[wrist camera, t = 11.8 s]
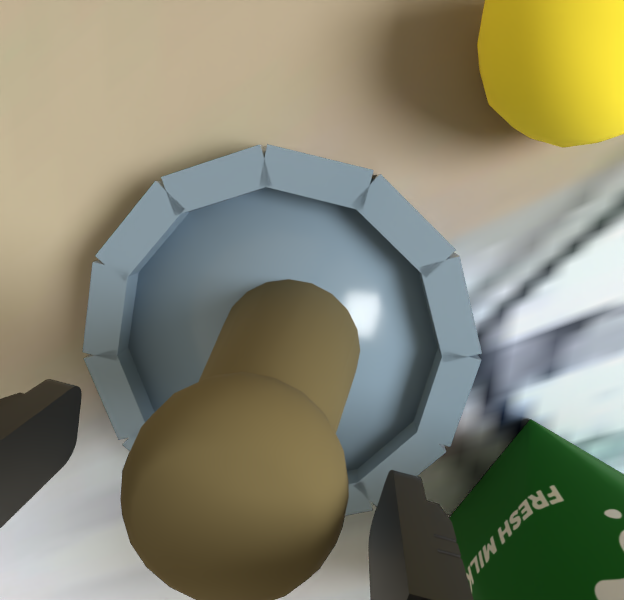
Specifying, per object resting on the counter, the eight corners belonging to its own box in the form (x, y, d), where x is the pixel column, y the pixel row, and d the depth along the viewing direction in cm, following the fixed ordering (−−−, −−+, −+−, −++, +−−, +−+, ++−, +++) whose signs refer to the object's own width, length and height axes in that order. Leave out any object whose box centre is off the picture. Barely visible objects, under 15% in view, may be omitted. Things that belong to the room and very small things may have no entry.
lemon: (643, 75, 17) (783, 50, 12) (529, 181, 19) (612, 199, 14) (531, -83, 16) (639, -187, 11) (413, 46, 17) (459, 8, 12)
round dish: (132, 112, 19) (110, 105, 17) (517, 207, 18) (535, 209, 17) (91, 449, 23) (69, 471, 21) (404, 531, 22) (409, 561, 21)
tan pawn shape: (205, 386, 21) (48, 602, 10) (242, 259, 19) (102, 356, 8) (333, 430, 21) (313, 693, 10) (380, 306, 19) (416, 463, 8)
